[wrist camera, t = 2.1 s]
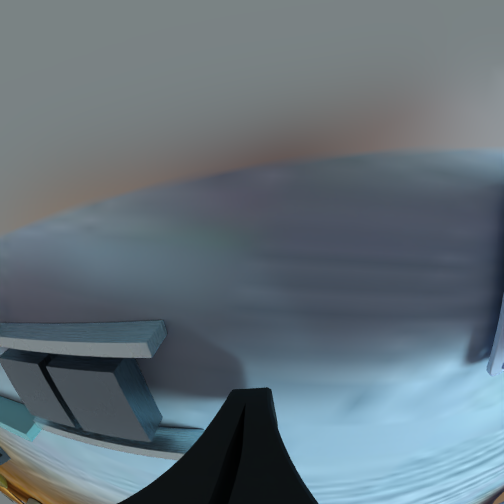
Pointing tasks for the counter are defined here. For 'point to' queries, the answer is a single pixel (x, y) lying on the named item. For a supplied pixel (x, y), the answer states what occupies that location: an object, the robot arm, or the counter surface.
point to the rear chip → (36, 385)
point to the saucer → (3, 481)
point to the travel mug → (32, 501)
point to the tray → (17, 419)
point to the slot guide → (102, 345)
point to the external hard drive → (3, 456)
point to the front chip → (107, 395)
